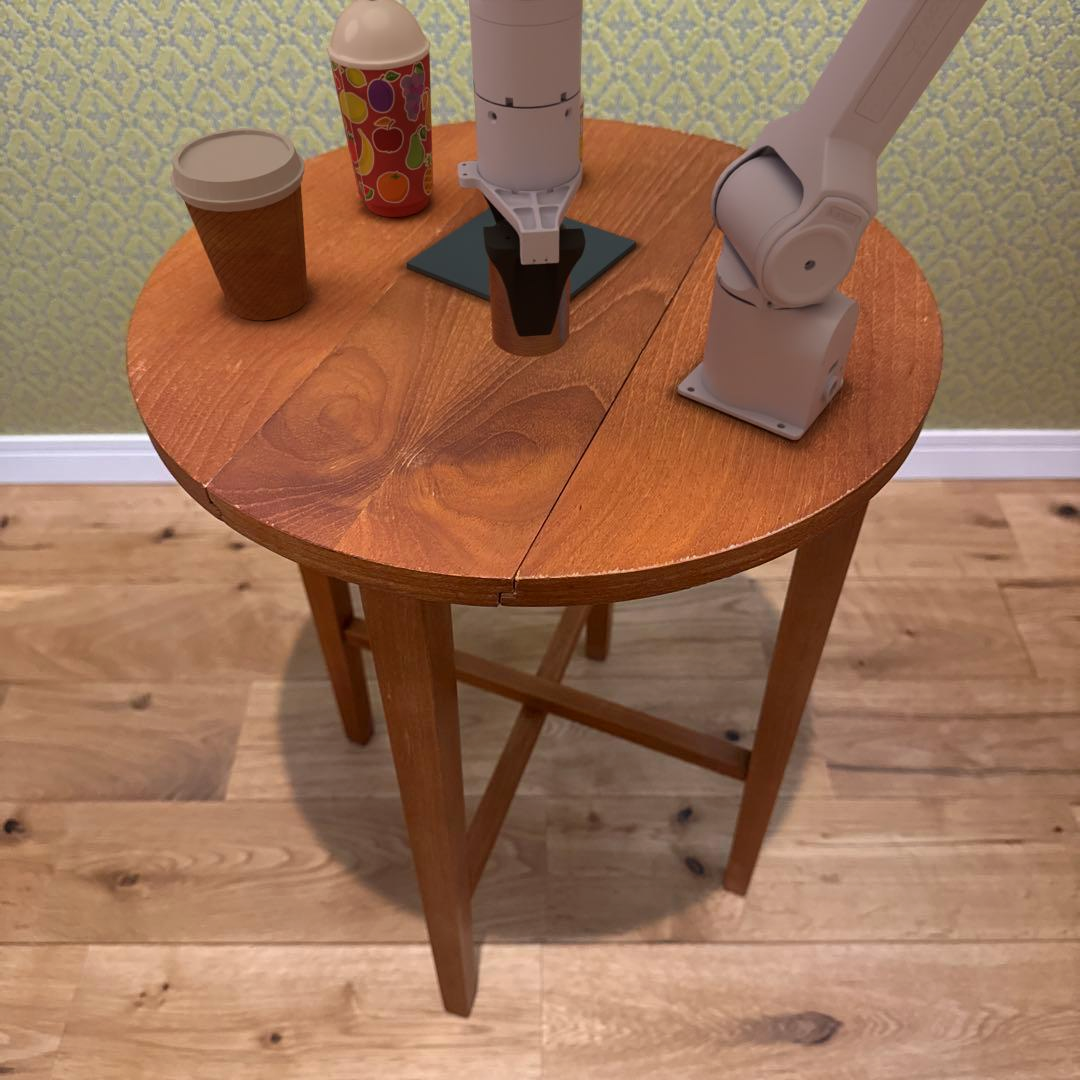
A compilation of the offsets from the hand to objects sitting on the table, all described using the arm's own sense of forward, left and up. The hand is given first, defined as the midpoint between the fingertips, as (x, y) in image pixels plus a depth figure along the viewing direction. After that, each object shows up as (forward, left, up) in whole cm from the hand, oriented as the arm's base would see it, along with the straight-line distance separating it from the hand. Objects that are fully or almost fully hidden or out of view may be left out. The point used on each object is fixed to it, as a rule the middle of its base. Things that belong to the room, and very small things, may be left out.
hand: (530, 306), depth 61 cm
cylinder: (0, 0, -2) cm, 2 cm away
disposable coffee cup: (+26, 0, -9) cm, 28 cm away
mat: (+13, -17, -9) cm, 23 cm away
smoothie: (+28, -18, -9) cm, 34 cm away
